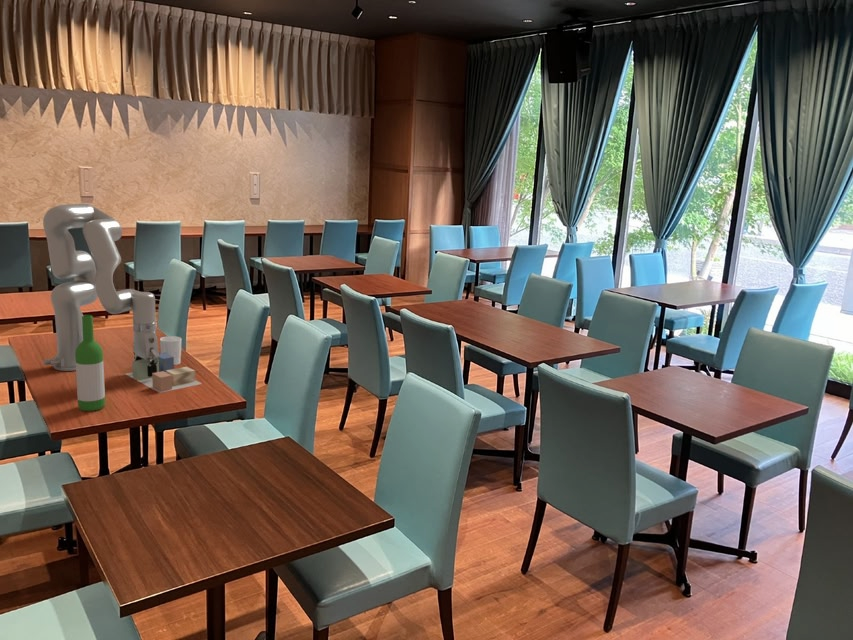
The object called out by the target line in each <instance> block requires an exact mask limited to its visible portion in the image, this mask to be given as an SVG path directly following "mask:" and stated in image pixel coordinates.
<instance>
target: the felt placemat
mask: <svg viewBox="0 0 853 640" xmlns="http://www.w3.org/2000/svg"><path fill="white" fill-rule="evenodd" d="M125 375H126V376H128V377H129V378H131V379H134V380H135V381H137V382H139V383H141V384H142V385H144V386H146V387H148V388H150V389H152V390H153V391H156V392H157V393H159V394H161V393H166V392H170V391H176V390H181V389H185V388H188V387H189V388H190V387H194V386H198V385H199V386H200V385H202V384H203V382H200V381H198V380H196V379H195V381H194V382H189V383H184V384H179V385H173V384H172V389H170V390H166V391H159V390H157V389H156V388H154V387H153V382H152V377H151V378H145V379H140V380H137V379H135V378H133V372H129V373H125Z"/></svg>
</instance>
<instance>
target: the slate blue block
mask: <svg viewBox="0 0 853 640" xmlns="http://www.w3.org/2000/svg"><path fill="white" fill-rule="evenodd" d="M158 355H159V356H158V360H159V372H161V371H164V372H166V370H171V369H175V365H174V357H172V356H170V355H168V354H166V353H161V352H160V353H158Z"/></svg>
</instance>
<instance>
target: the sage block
mask: <svg viewBox="0 0 853 640" xmlns="http://www.w3.org/2000/svg"><path fill="white" fill-rule="evenodd" d="M152 360H153V359H152ZM152 360H150V362H151V361H152ZM131 364H132V367H131V368H132V369H131V370H132V373H133V378H135V379H137V380H140V379H145V378H151V377H152V376H151V377H148V371H147V366H149V365H148V362H147V360H145V359H142V360H137V361H135V360H132V361H131ZM157 372H159V360H158V362H157ZM133 378H132V379H133ZM135 379H134V380H135ZM137 380H136V381H137Z"/></svg>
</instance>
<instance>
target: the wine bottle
mask: <svg viewBox="0 0 853 640" xmlns="http://www.w3.org/2000/svg"><path fill="white" fill-rule="evenodd" d="M93 318H94V316H93V314H83V316H82V327H83V341H82V342H81V343H80V344H79V345H78V347H77V348H76V352H75V357H76V371H75V372H76V374H75V375H76V390H77V391H76V395H77V405H78V409H79V410H81V411H83V412H95V410H96V411H98V410H99V411H100V410H101V409H103V408H104V407H105V405H106V392H105V391H106V389H105V371H104V369H105V368H104V352H103V348H102V346H101V345H100V344H99V343H98V341H96V340H95V336H94V320H93Z"/></svg>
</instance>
